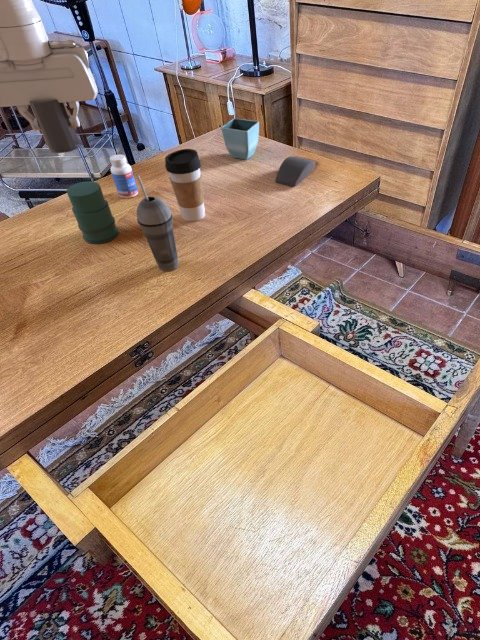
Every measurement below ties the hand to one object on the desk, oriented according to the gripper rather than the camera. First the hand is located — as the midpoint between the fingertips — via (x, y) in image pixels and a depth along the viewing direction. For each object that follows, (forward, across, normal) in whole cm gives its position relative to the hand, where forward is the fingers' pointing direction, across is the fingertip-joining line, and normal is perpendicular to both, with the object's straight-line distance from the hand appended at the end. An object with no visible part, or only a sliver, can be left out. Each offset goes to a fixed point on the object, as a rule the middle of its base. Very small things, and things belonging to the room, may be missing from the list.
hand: (57, 127), depth 90 cm
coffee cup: (+25, -23, -6) cm, 34 cm away
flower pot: (+25, -39, -41) cm, 62 cm away
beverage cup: (+25, -17, +16) cm, 34 cm away
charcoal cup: (+4, 0, 0) cm, 4 cm away
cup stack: (+24, 0, -1) cm, 24 cm away
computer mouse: (+25, -53, -24) cm, 63 cm away
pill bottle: (+25, -5, -22) cm, 34 cm away
